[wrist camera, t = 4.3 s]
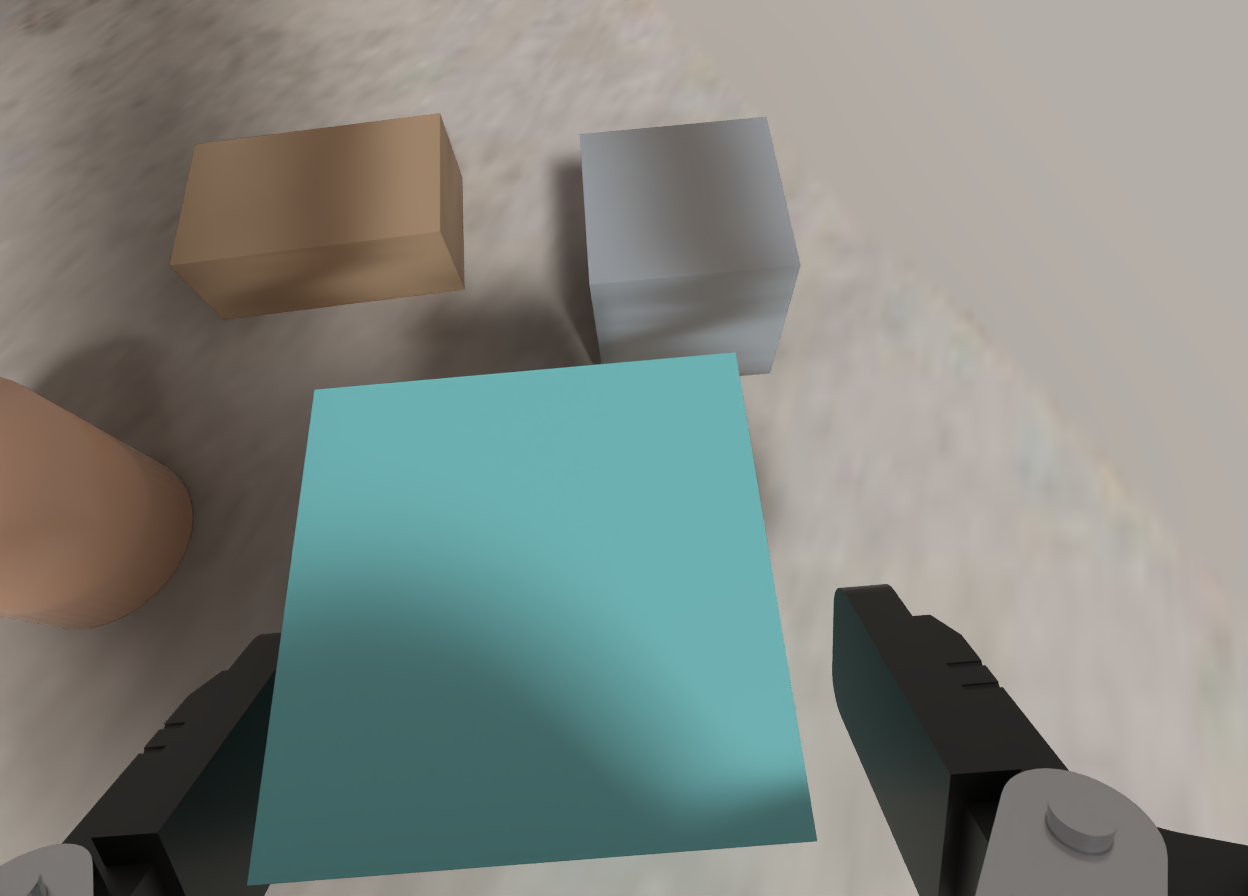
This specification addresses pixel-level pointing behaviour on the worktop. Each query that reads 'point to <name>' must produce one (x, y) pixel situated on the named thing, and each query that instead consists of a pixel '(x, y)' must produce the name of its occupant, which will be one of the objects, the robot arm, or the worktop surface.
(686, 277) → the slate cube
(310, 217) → the walnut slab
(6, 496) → the peach cylinder
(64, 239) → the worktop surface
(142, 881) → the robot arm
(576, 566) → the teal pillar
